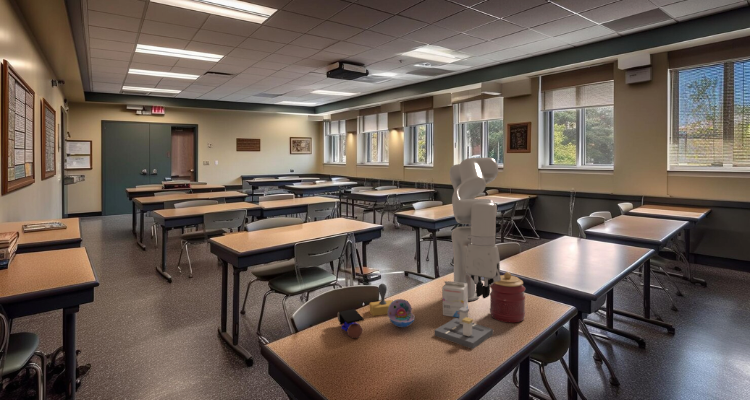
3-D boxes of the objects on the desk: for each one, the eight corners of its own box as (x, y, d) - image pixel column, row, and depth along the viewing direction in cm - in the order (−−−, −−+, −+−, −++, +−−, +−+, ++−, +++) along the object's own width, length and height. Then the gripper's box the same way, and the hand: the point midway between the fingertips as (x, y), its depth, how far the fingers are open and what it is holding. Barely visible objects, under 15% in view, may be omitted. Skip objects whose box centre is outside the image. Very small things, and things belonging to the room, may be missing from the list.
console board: (434, 335, 136) (434, 329, 135) (455, 322, 146) (455, 317, 145) (473, 349, 125) (473, 342, 125) (492, 334, 135) (493, 328, 135)
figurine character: (336, 329, 146) (347, 341, 132) (335, 308, 146) (346, 319, 132) (353, 326, 148) (366, 338, 134) (352, 306, 148) (365, 316, 134)
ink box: (468, 310, 157) (468, 278, 155) (464, 318, 149) (464, 285, 148) (447, 308, 160) (447, 276, 159) (442, 315, 153) (442, 282, 152)
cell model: (395, 334, 137) (394, 308, 136) (383, 321, 149) (383, 297, 148) (420, 330, 140) (420, 304, 139) (407, 317, 152) (407, 293, 151)
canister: (482, 314, 153) (482, 270, 151) (506, 307, 159) (506, 266, 157) (507, 326, 142) (508, 279, 140) (532, 318, 148) (533, 273, 146)
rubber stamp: (392, 308, 162) (392, 280, 160) (396, 313, 156) (396, 284, 155) (369, 311, 159) (368, 282, 158) (372, 316, 154) (372, 287, 152)
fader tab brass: (462, 334, 130) (462, 319, 130) (466, 332, 132) (466, 317, 132) (469, 336, 128) (469, 321, 128) (472, 334, 130) (473, 319, 130)
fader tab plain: (458, 323, 139) (458, 309, 139) (462, 321, 141) (462, 307, 140) (465, 325, 137) (465, 311, 137) (468, 323, 139) (468, 308, 139)
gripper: (455, 239, 126) (455, 294, 128) (501, 245, 115) (500, 305, 117) (467, 235, 131) (467, 288, 133) (511, 241, 121) (511, 298, 122)
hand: (482, 296), depth 125 cm, fingers closed
